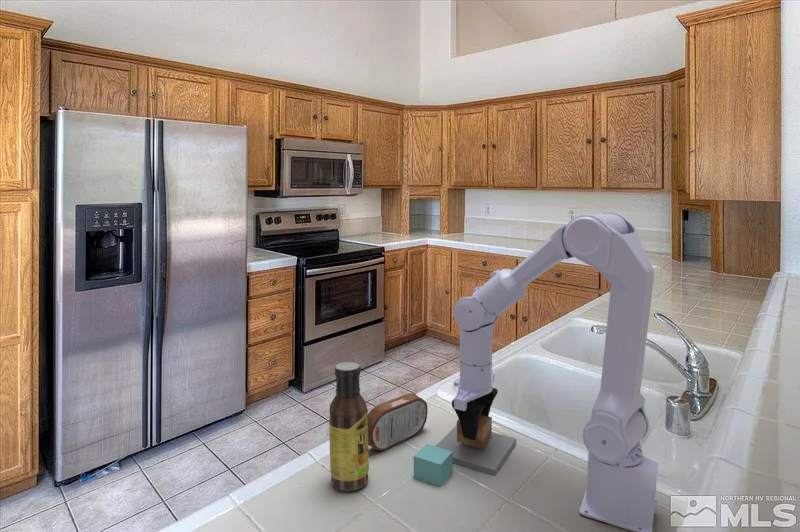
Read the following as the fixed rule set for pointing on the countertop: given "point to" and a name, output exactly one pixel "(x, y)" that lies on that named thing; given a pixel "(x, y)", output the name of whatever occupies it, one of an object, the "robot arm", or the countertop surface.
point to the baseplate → (479, 452)
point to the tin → (396, 421)
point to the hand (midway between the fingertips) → (474, 432)
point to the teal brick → (433, 465)
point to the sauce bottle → (348, 431)
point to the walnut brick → (482, 432)
